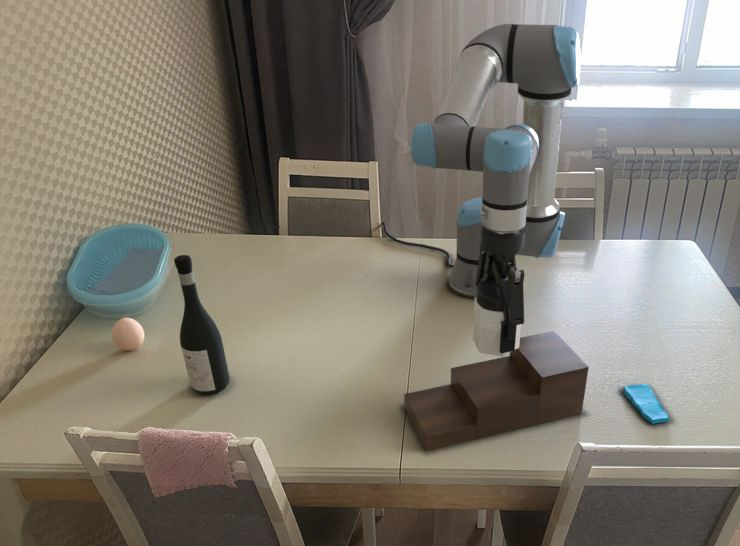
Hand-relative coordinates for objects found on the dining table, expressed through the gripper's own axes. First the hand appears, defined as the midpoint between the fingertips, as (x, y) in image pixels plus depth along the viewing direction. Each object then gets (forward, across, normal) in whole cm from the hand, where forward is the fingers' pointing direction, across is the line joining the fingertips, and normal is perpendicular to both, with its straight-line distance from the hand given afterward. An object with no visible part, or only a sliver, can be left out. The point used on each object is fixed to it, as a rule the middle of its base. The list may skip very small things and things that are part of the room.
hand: (496, 337), depth 128 cm
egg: (+18, -49, -69) cm, 86 cm away
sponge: (+18, +9, +30) cm, 36 cm away
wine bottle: (+18, -28, -53) cm, 62 cm away
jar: (+2, 0, 0) cm, 2 cm away
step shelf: (+17, 0, 0) cm, 17 cm away
